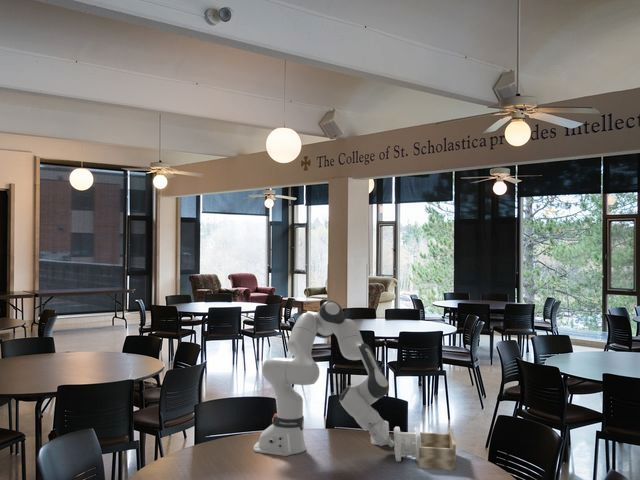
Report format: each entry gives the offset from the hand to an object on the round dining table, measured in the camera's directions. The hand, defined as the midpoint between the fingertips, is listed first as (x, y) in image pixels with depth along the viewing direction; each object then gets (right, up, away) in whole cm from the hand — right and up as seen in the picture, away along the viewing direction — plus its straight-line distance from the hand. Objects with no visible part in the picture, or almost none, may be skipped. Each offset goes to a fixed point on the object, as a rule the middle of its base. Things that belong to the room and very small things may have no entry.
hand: (392, 445), depth 254 cm
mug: (-4, -5, +20) cm, 21 cm away
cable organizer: (+6, -5, -1) cm, 8 cm away
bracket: (+17, -5, -3) cm, 18 cm away
